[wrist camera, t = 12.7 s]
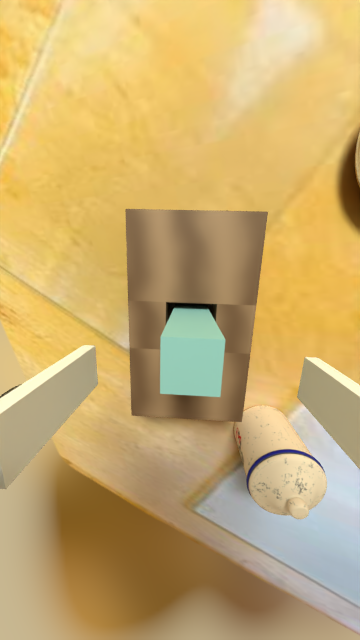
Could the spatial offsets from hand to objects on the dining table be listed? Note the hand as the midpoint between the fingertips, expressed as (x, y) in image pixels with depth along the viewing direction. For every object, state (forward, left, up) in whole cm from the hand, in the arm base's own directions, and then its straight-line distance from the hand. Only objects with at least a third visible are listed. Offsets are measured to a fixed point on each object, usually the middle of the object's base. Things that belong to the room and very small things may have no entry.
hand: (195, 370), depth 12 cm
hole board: (0, 0, -16) cm, 16 cm away
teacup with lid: (-13, +19, -16) cm, 28 cm away
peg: (0, 0, -14) cm, 14 cm away
